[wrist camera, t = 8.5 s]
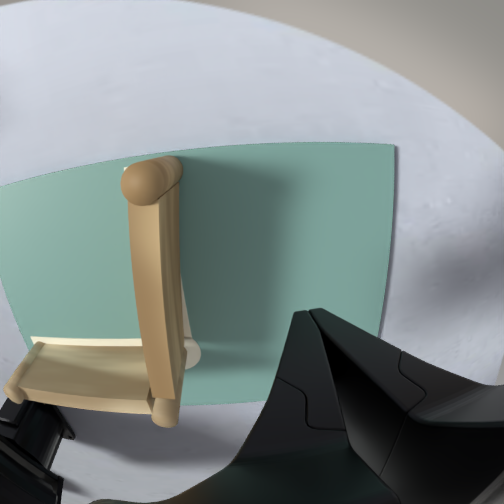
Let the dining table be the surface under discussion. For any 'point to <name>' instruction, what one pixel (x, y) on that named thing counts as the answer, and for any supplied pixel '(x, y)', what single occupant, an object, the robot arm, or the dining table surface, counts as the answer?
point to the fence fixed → (93, 380)
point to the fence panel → (157, 266)
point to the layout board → (207, 254)
